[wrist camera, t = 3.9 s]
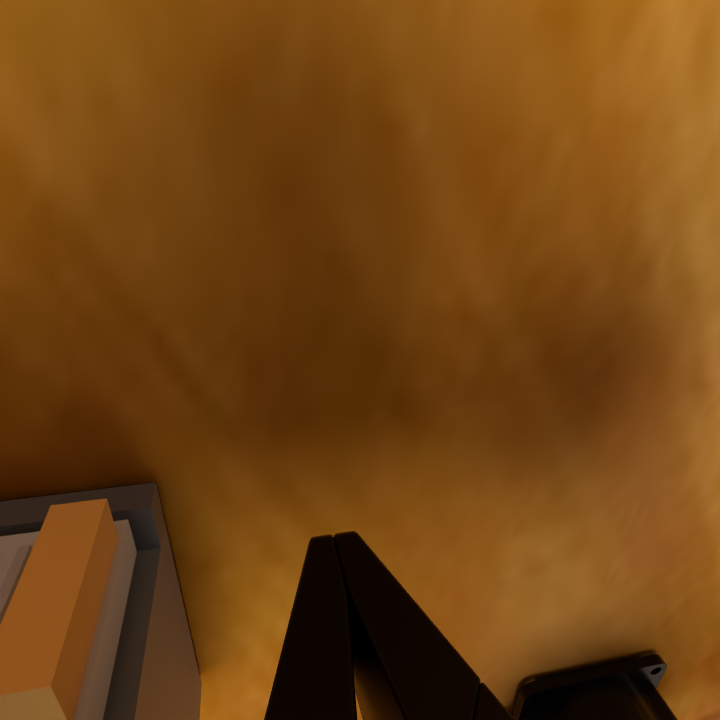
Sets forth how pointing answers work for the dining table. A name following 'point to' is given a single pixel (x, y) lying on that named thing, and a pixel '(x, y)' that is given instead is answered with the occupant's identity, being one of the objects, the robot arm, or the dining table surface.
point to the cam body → (137, 607)
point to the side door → (63, 612)
